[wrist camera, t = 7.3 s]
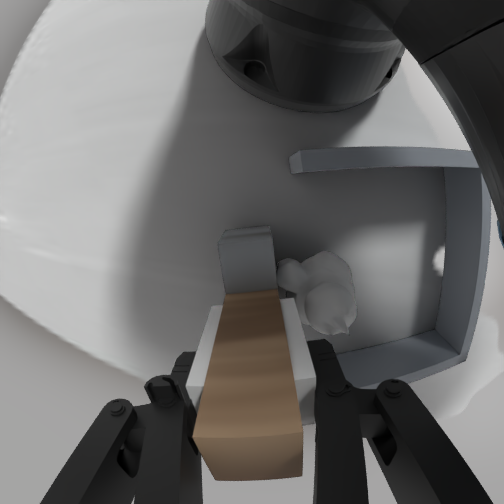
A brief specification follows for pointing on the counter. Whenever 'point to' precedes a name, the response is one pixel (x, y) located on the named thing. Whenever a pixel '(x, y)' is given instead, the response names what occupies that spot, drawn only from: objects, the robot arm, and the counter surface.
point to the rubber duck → (320, 291)
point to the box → (455, 264)
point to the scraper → (250, 371)
